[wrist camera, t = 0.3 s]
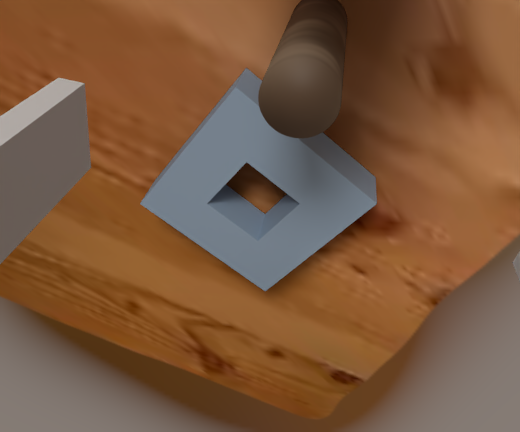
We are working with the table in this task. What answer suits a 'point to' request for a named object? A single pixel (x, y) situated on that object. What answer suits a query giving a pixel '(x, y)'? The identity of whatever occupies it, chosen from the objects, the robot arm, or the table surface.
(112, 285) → the table surface
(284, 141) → the socket block
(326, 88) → the peg
